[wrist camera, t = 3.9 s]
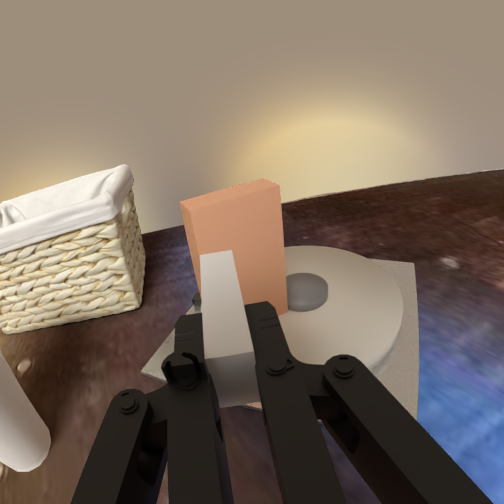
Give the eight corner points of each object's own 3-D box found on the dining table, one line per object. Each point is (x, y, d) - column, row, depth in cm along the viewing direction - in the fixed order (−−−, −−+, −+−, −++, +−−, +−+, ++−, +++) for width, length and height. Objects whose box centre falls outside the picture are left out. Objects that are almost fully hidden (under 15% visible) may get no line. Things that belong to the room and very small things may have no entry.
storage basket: (-5, 342, 32) (-55, 247, 25) (29, 280, 46) (-2, 201, 39) (151, 316, 35) (112, 194, 28) (154, 251, 49) (132, 160, 42)
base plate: (413, 266, 38) (414, 257, 37) (413, 435, 19) (419, 426, 18) (240, 249, 47) (239, 240, 46) (142, 374, 28) (137, 364, 27)
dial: (318, 244, 44) (314, 142, 37) (437, 317, 28) (465, 183, 21) (178, 298, 37) (149, 180, 30) (268, 432, 21) (244, 272, 14)
